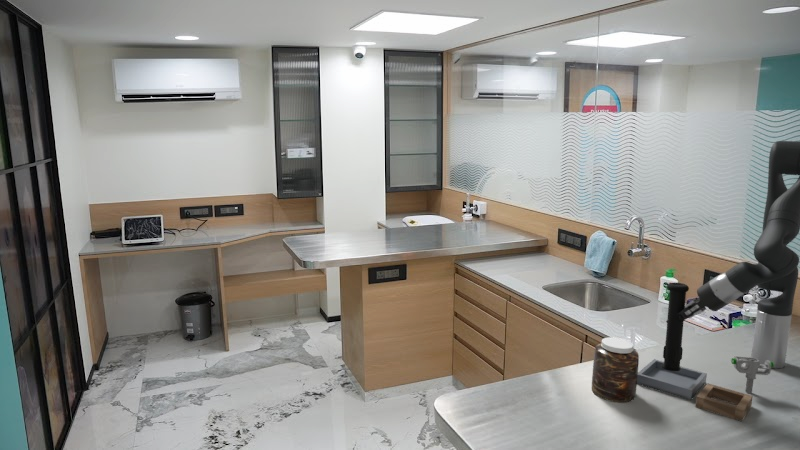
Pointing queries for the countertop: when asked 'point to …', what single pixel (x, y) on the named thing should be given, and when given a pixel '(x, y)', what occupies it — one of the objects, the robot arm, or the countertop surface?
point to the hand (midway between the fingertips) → (669, 323)
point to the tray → (672, 380)
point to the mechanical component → (751, 369)
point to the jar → (615, 370)
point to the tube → (674, 327)
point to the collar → (723, 408)
